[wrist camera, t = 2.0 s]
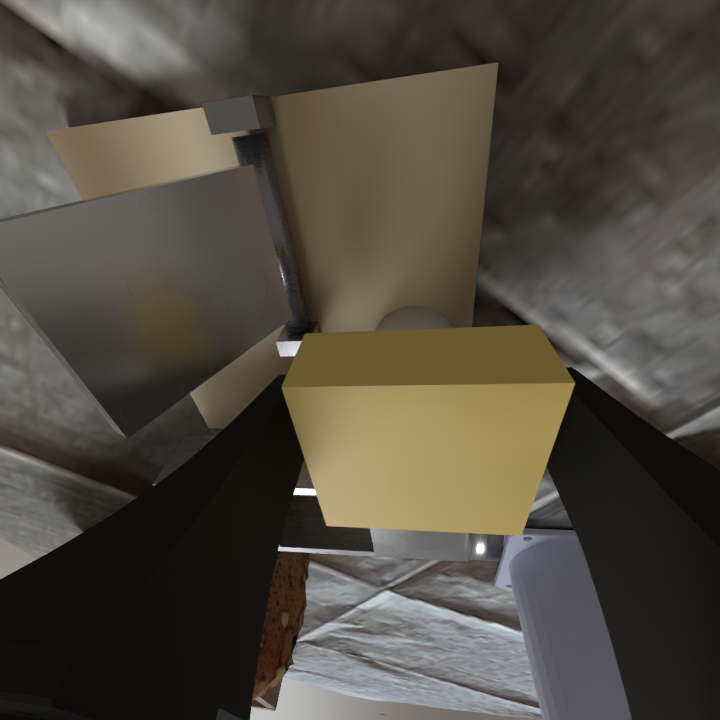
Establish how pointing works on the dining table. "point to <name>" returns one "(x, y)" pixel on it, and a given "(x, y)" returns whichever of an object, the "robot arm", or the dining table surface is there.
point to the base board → (333, 199)
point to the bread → (282, 619)
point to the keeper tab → (158, 282)
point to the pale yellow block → (427, 422)
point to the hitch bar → (304, 513)
